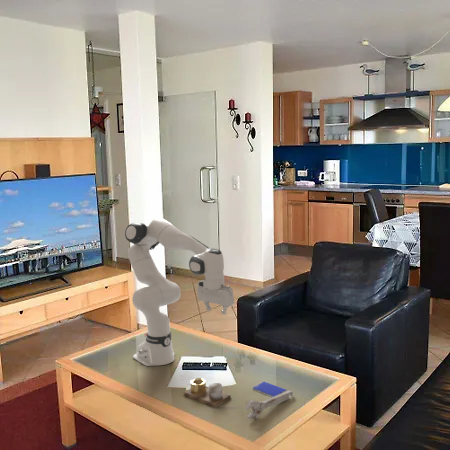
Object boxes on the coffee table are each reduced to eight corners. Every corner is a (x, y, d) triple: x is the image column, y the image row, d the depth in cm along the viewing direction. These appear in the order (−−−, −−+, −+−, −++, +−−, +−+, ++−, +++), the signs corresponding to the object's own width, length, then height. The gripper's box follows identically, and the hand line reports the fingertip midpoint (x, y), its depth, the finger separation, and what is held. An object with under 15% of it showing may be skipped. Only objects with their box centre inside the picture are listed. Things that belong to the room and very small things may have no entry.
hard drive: (252, 387, 238) (274, 395, 230) (264, 381, 244) (286, 389, 235) (252, 390, 238) (275, 399, 230) (264, 384, 244) (286, 392, 236)
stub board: (184, 395, 235) (183, 381, 234) (199, 386, 242) (199, 373, 241) (214, 407, 223) (214, 392, 222) (230, 398, 231) (230, 384, 230)
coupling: (188, 390, 236) (187, 382, 235) (198, 385, 240) (197, 377, 240) (198, 395, 232) (198, 386, 231) (208, 389, 236) (208, 381, 236)
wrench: (292, 403, 231) (247, 424, 209) (289, 402, 232) (243, 422, 210) (293, 385, 230) (248, 403, 208) (290, 384, 231) (244, 402, 209)
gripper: (236, 285, 248) (237, 314, 250) (203, 279, 261) (204, 306, 263) (227, 288, 243) (228, 318, 246) (194, 281, 257) (196, 310, 259)
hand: (216, 312), depth 255 cm, fingers open, 8 cm apart
